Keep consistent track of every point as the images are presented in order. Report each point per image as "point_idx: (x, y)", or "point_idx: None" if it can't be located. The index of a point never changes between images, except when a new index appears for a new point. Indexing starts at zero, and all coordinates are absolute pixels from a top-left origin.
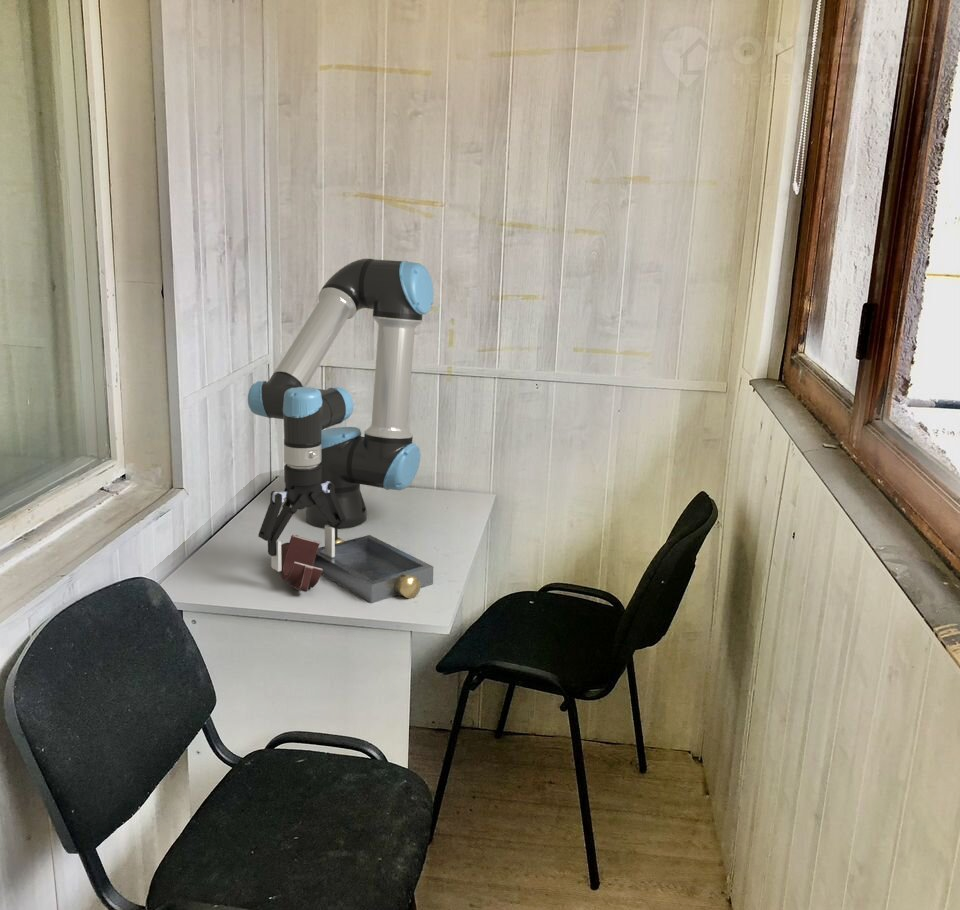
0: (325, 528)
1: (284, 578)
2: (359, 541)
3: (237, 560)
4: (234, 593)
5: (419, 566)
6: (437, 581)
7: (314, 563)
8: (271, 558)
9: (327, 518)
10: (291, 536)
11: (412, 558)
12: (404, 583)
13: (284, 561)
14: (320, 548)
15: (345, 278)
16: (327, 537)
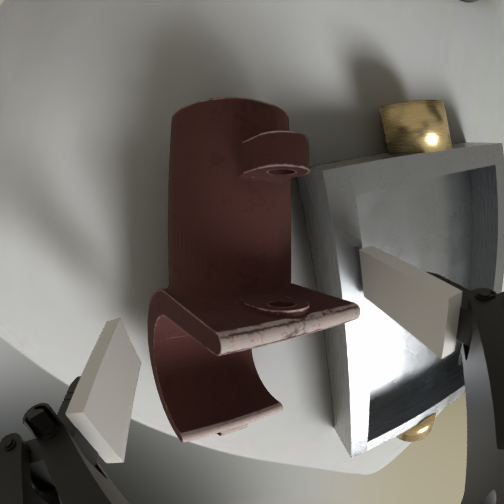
0: (436, 300)
1: (152, 361)
2: (476, 167)
3: (81, 32)
4: (23, 295)
5: None
6: None
7: (310, 204)
8: (96, 343)
9: (467, 396)
10: (213, 333)
11: None
12: (405, 439)
13: (162, 314)
14: (367, 174)
15: None
16: (408, 298)
